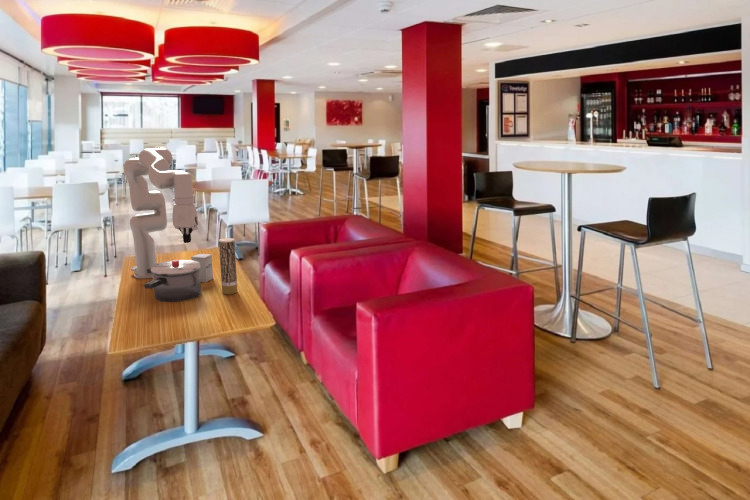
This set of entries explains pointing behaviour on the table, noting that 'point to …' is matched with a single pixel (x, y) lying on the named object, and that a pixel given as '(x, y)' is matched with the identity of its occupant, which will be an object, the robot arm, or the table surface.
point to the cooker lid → (175, 267)
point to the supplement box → (204, 266)
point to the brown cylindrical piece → (228, 265)
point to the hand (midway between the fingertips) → (187, 242)
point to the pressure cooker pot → (175, 286)
